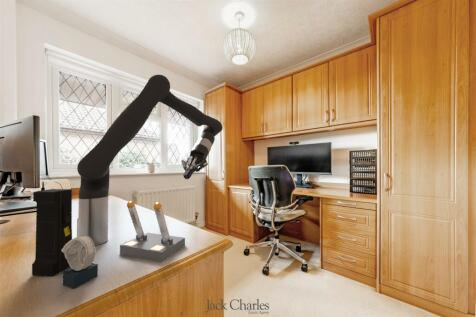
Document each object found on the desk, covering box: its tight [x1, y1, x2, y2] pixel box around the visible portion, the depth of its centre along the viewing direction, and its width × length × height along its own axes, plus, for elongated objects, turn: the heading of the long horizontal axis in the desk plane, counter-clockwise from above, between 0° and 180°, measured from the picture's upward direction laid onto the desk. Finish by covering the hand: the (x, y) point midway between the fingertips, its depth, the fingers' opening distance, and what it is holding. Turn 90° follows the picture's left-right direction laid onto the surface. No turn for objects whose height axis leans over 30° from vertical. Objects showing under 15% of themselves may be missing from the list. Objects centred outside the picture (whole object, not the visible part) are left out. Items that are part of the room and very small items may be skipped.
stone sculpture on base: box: [62, 236, 99, 289], centre depth 49 cm, size 6×8×11 cm
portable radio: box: [31, 181, 73, 278], centre depth 54 cm, size 8×6×25 cm
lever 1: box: [126, 200, 145, 239], centre depth 66 cm, size 2×2×14 cm
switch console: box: [119, 232, 186, 263], centre depth 66 cm, size 17×12×4 cm
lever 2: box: [153, 202, 170, 243], centre depth 63 cm, size 2×2×14 cm
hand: (185, 177), depth 77 cm, fingers closed
